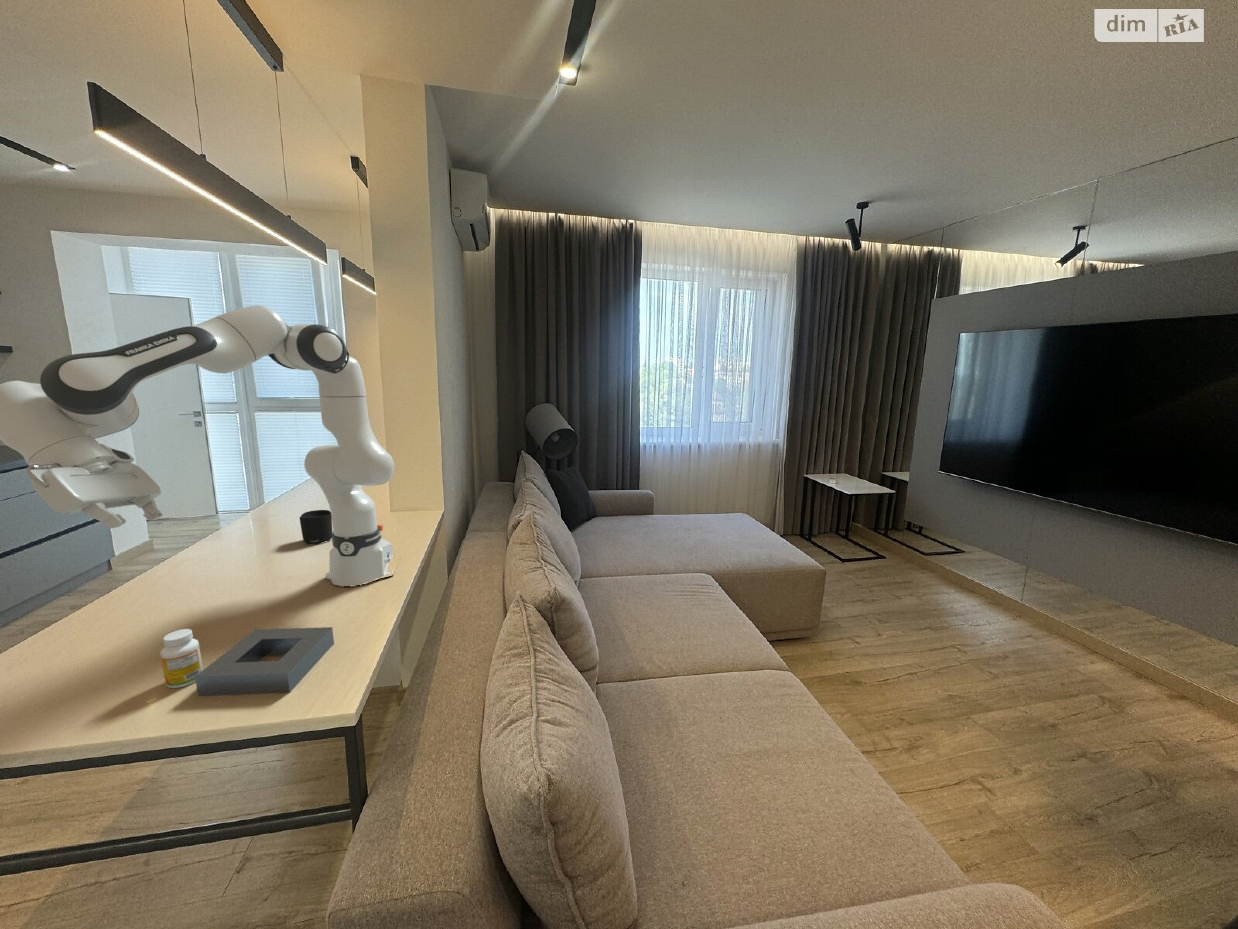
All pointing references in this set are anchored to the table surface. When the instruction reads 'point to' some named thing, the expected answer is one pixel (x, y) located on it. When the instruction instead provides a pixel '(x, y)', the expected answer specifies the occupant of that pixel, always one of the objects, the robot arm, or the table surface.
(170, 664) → the supplement bottle
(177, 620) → the table surface
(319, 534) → the pen holder
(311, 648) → the grey square frame
